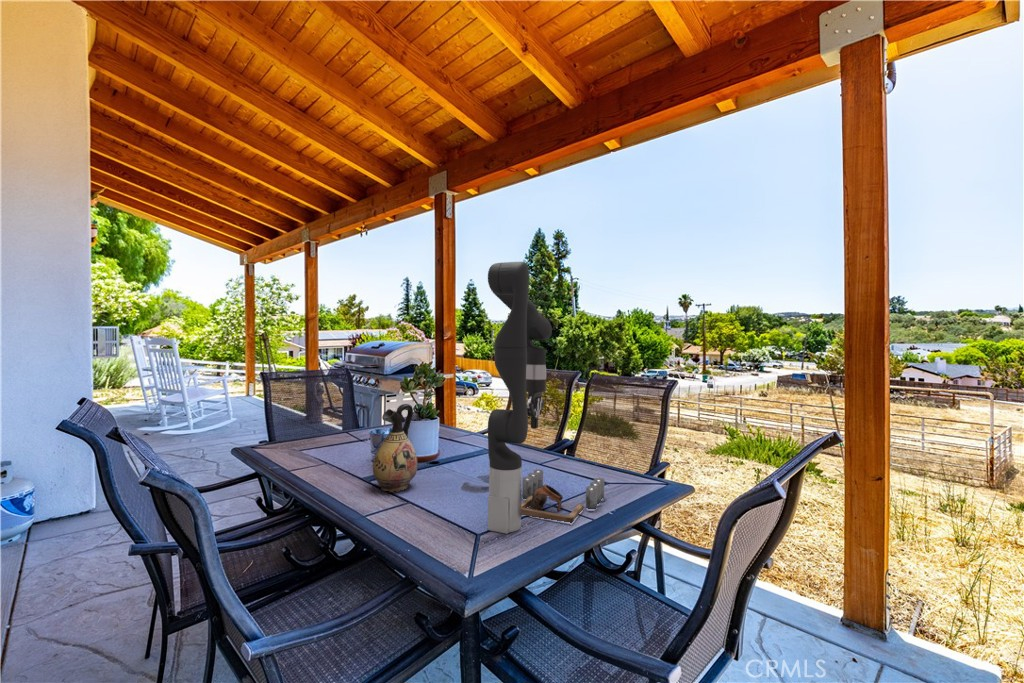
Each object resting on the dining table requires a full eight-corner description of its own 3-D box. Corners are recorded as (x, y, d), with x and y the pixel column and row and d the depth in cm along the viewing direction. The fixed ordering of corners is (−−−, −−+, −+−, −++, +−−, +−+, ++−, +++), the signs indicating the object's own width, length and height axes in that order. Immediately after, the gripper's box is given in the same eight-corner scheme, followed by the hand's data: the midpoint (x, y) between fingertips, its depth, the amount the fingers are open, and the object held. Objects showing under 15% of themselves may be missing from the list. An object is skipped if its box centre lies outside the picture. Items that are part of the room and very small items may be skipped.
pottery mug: (533, 503, 148) (546, 481, 148) (556, 521, 143) (569, 499, 143) (520, 505, 137) (534, 482, 137) (544, 524, 132) (558, 501, 133)
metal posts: (595, 512, 138) (595, 490, 138) (520, 499, 149) (520, 478, 149) (605, 499, 150) (605, 478, 151) (535, 488, 161) (535, 468, 161)
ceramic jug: (391, 498, 148) (392, 408, 148) (363, 489, 157) (365, 404, 157) (429, 486, 161) (431, 403, 161) (402, 478, 170) (403, 400, 171)
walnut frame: (571, 525, 128) (571, 518, 128) (515, 514, 136) (515, 507, 136) (583, 511, 140) (583, 504, 140) (530, 501, 147) (530, 495, 147)
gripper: (537, 379, 145) (536, 432, 145) (552, 377, 157) (551, 426, 157) (517, 378, 148) (516, 430, 148) (532, 376, 160) (532, 424, 160)
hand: (534, 428), depth 152 cm, fingers closed
